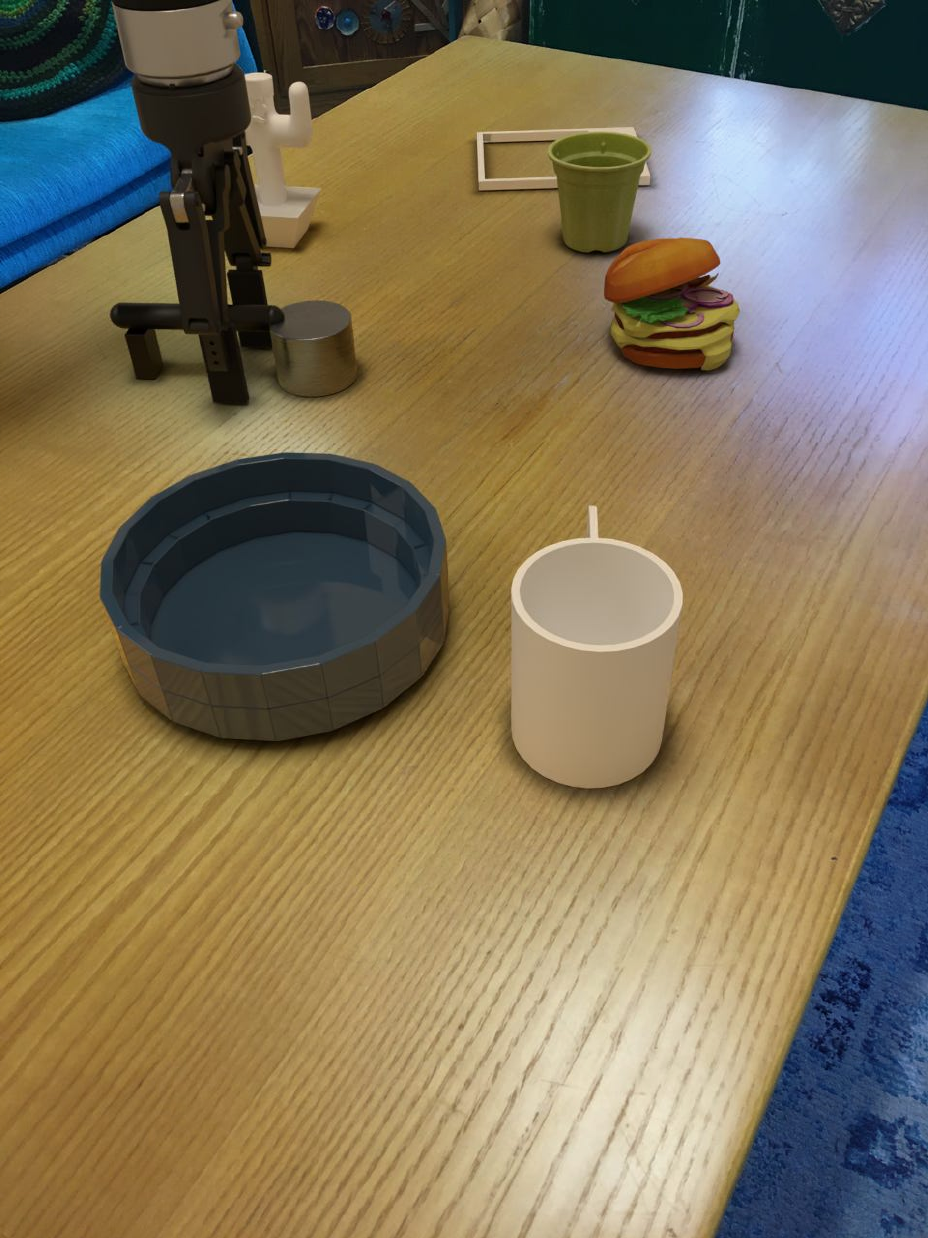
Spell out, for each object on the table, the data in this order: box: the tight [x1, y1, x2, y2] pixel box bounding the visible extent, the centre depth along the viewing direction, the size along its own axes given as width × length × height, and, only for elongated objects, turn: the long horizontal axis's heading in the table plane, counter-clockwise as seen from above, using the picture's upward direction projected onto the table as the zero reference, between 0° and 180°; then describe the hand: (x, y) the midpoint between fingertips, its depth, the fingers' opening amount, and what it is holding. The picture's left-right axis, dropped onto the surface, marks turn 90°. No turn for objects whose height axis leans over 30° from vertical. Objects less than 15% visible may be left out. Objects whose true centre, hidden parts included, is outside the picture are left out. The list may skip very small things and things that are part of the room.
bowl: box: [99, 451, 451, 742], centre depth 63 cm, size 19×19×6 cm
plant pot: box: [547, 132, 652, 254], centre depth 100 cm, size 9×9×9 cm
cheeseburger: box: [603, 237, 741, 371], centre depth 85 cm, size 10×11×10 cm
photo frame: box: [476, 126, 651, 191], centre depth 117 cm, size 15×1×18 cm
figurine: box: [244, 72, 322, 249], centre depth 100 cm, size 7×9×15 cm
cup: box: [510, 505, 684, 789], centre depth 56 cm, size 8×12×10 cm
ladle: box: [109, 299, 358, 398], centre depth 84 cm, size 19×6×6 cm, turn 84°
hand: (244, 371), depth 86 cm, fingers open, 8 cm apart
